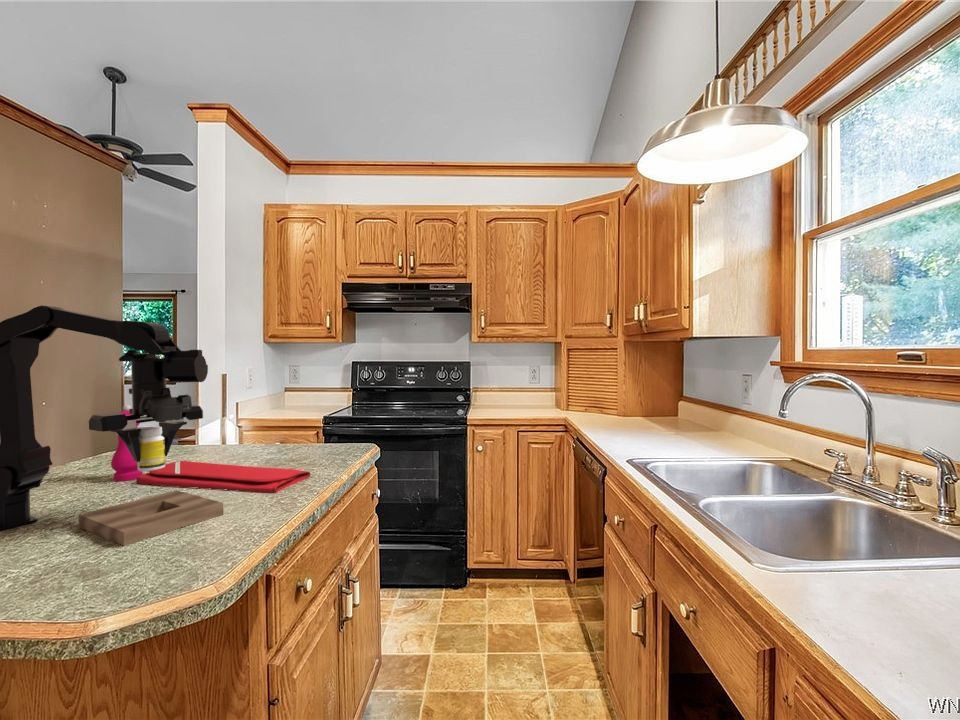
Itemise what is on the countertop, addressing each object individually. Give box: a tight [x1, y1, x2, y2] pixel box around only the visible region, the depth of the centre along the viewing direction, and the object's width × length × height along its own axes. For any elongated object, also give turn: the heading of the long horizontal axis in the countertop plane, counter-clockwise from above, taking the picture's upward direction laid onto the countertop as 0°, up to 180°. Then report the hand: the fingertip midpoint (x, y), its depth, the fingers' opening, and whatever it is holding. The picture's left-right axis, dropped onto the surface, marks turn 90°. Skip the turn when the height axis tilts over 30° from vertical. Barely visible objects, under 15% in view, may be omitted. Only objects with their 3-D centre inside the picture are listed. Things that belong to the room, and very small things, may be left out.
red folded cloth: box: [136, 460, 311, 494], centre depth 123 cm, size 16×41×4 cm, turn 78°
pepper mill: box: [110, 404, 143, 482], centre depth 125 cm, size 7×7×20 cm
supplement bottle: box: [137, 426, 166, 472], centre depth 95 cm, size 5×5×8 cm
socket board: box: [78, 490, 224, 547], centre depth 94 cm, size 18×18×2 cm
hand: (151, 458), depth 95 cm, fingers closed on supplement bottle, 5 cm apart
